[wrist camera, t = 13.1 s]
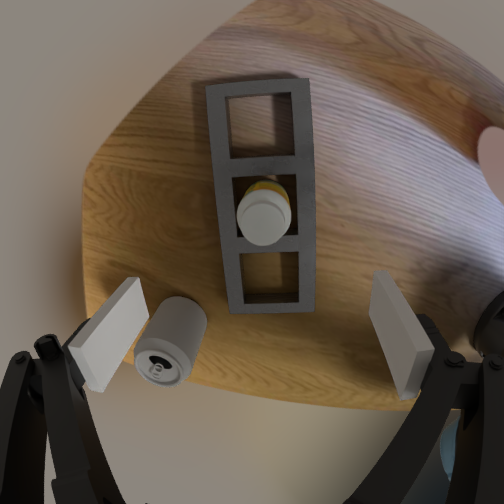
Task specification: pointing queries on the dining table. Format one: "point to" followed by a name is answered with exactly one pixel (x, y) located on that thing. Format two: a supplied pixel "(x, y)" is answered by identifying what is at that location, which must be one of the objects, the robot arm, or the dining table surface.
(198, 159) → the dining table surface
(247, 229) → the supplement bottle
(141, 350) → the can
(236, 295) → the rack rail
